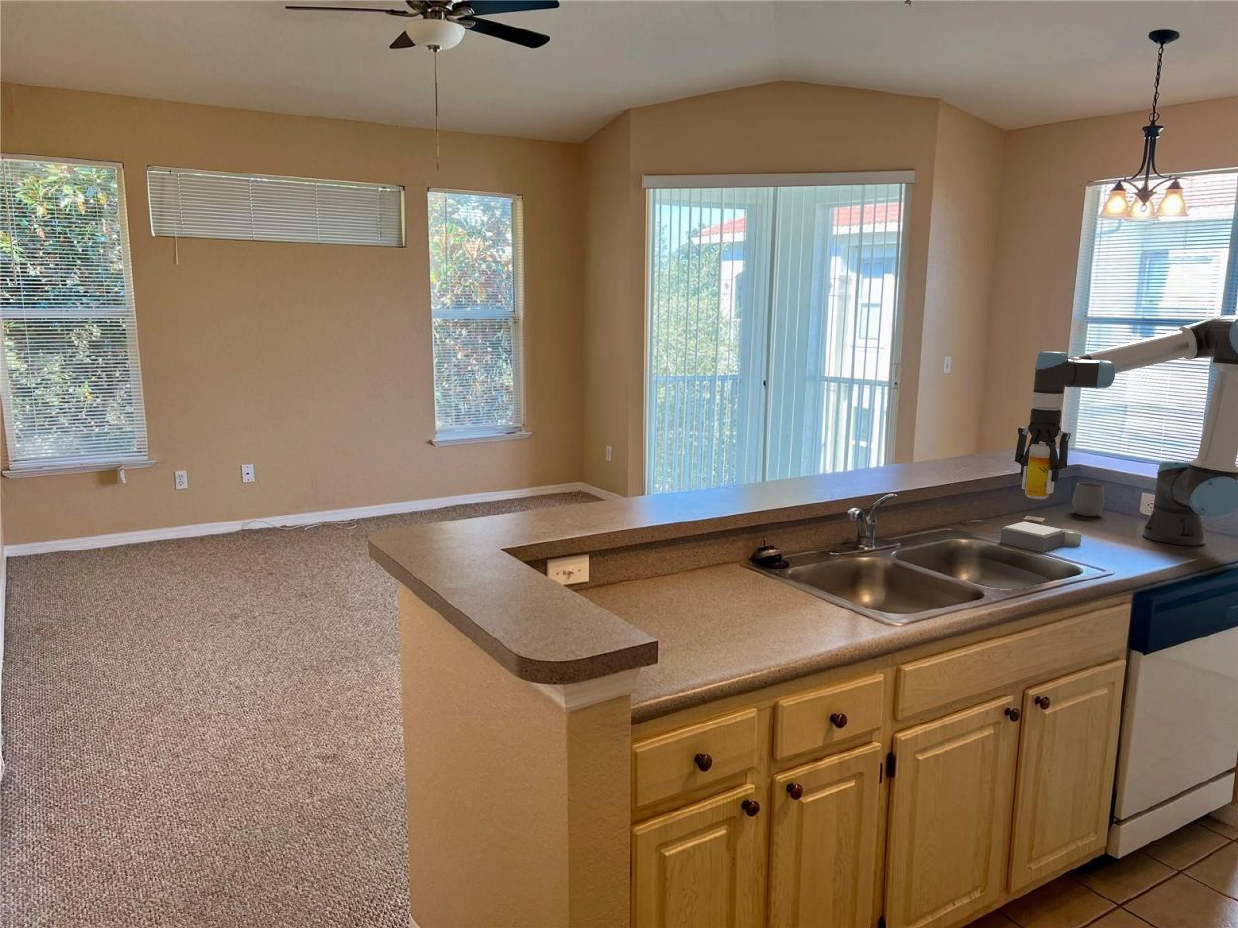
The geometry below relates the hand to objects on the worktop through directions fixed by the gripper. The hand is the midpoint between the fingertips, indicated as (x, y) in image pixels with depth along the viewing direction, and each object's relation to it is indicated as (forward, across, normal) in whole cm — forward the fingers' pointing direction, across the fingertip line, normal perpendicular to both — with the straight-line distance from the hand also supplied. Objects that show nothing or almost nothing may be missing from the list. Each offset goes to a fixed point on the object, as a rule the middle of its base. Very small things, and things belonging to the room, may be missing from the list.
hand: (1037, 490), depth 234 cm
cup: (+15, +8, -52) cm, 55 cm away
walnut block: (+15, +5, -11) cm, 19 cm away
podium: (+15, 0, 0) cm, 15 cm away
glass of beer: (+2, 0, 0) cm, 2 cm away
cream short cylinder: (+15, -6, -10) cm, 19 cm away
